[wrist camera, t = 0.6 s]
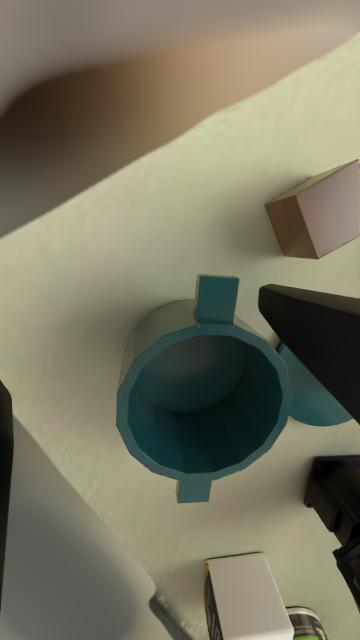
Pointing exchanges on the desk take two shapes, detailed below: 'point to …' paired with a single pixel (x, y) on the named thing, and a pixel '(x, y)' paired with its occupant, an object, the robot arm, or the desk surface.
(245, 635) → the medicine bottle
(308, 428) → the desk surface
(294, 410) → the lid
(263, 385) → the pot
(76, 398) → the desk surface
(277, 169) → the desk surface
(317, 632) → the coffee can
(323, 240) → the walnut block
